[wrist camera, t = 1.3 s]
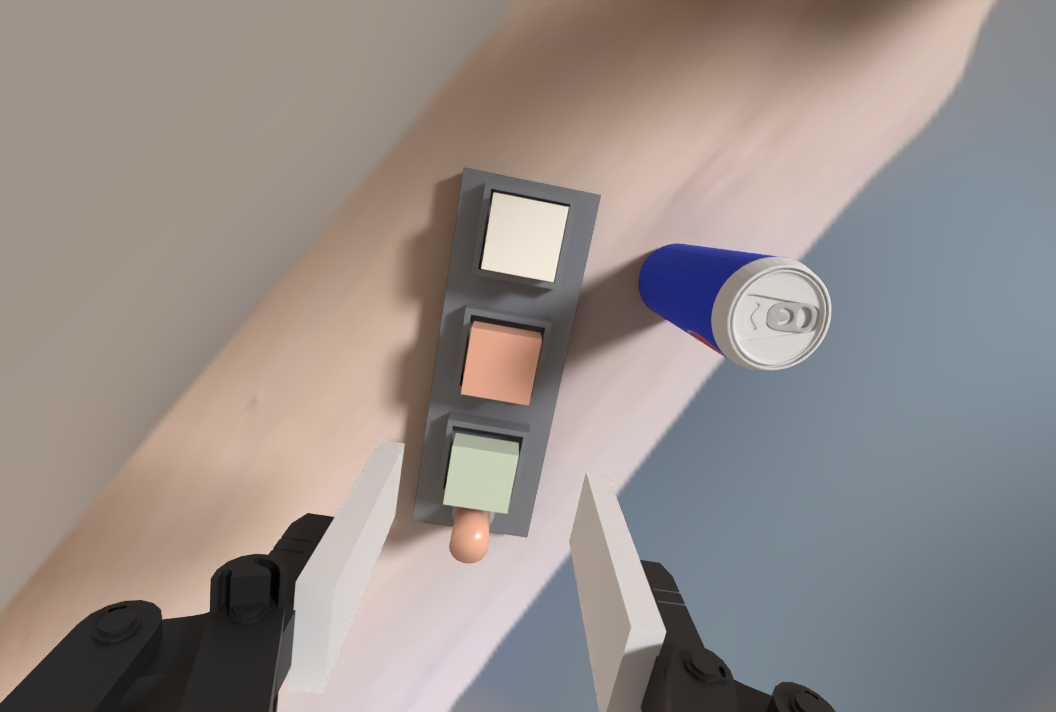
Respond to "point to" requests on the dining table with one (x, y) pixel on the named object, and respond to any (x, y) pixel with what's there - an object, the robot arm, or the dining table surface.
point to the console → (509, 306)
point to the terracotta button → (501, 363)
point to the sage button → (481, 473)
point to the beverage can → (739, 302)
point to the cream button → (524, 237)
